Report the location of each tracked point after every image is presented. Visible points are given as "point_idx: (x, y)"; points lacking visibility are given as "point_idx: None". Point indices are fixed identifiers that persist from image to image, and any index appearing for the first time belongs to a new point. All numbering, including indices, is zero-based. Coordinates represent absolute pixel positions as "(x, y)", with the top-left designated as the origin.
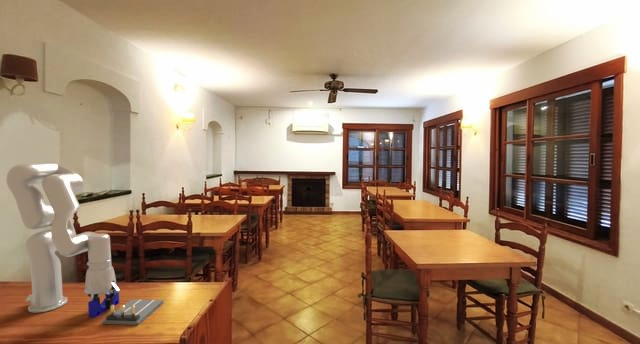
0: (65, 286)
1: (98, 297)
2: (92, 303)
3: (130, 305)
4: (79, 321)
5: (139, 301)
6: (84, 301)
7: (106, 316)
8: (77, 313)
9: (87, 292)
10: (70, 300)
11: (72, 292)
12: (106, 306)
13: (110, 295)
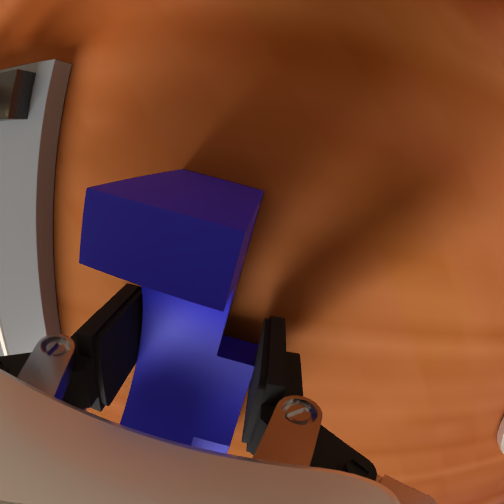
0: (493, 500)
1: (250, 443)
2: (146, 200)
3: (6, 309)
4: (313, 107)
5: (3, 353)
6: (416, 446)
7: (14, 75)
8: (416, 289)
9: (359, 494)
10: (484, 442)
11: (475, 486)
12: (114, 298)
13: (14, 373)
